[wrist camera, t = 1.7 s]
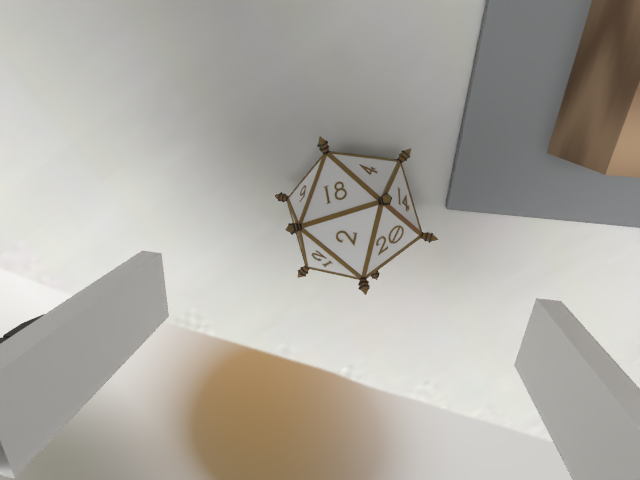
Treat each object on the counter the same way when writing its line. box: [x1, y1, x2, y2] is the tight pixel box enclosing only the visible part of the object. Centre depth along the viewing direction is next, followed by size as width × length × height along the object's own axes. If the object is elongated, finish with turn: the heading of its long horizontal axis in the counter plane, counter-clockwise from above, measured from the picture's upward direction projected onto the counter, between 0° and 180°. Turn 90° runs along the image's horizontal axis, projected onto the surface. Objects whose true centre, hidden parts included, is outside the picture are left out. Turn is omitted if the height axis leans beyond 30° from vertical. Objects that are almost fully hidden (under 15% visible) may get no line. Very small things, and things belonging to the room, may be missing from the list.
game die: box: [275, 137, 438, 295], centre depth 21 cm, size 9×8×10 cm
